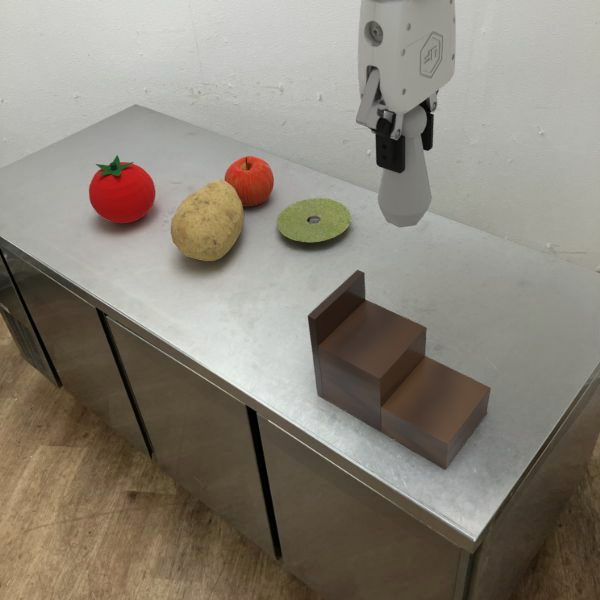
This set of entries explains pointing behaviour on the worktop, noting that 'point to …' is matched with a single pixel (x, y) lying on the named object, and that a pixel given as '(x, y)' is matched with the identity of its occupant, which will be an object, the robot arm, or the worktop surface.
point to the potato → (208, 222)
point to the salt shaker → (407, 176)
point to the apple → (250, 180)
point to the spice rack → (391, 375)
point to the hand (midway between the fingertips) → (404, 155)
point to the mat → (314, 220)
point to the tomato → (121, 191)
